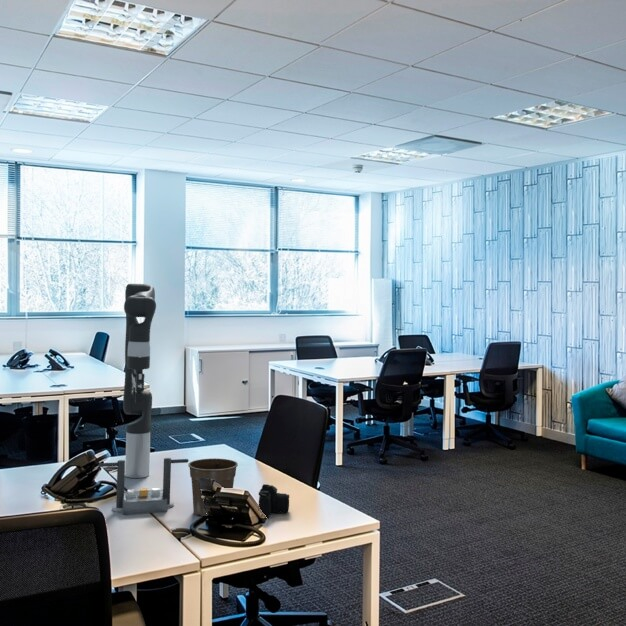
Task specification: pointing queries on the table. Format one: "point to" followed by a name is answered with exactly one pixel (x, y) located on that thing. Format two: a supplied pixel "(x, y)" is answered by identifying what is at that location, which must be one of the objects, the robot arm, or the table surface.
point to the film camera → (272, 500)
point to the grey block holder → (144, 502)
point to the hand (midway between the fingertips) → (137, 401)
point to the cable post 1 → (118, 482)
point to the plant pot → (210, 477)
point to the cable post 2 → (169, 477)
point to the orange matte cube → (143, 492)
